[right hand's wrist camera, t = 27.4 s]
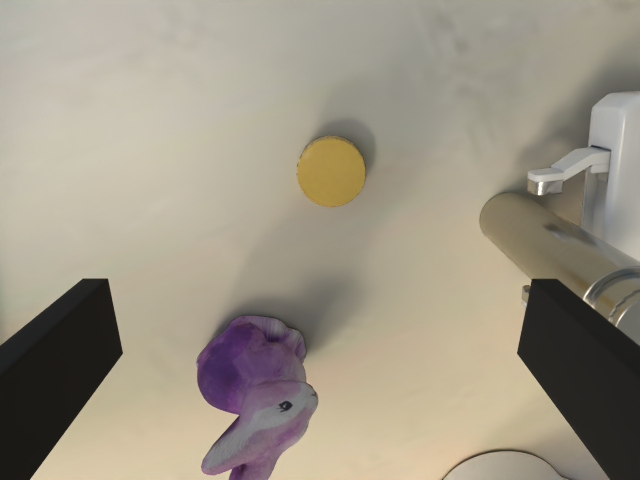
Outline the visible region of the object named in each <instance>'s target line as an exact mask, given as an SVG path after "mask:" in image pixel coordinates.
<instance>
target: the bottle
mask: <svg viewBox="0 0 640 480" xmlns="http://www.w3.org/2000/svg"><path fill="white" fill-rule="evenodd" d="M480 227H481V230H482V232H483V233H484V235H485V236H486V237H487V238H488V239H489V240H490V241H491V242H492V243H493V244H495V245H496V246H497V247H498V248H499V249H500V250H501V251H502V252H503V253H504V254H505V255H506V256H507V257H508V258H509V259H510V260H511V261H512V262H513V263H514V264H515V265H516V266H518V267H519V268H520V269H521V270H522V271H523V272H524V273H525V274H526V275H527V276H528V277H529V278H530V279H531V280H532V279H558V280H559V281H560V282H562V283H563V284H564V285H565V286H567V287H568V288H569V289H570V290H572V291H573V292H574V293H575V294H576V295H578V296H579V297H580V298H581V299H583V300H584V301H585V302H586V303H588V304H589V305H590V306H591V307H592V308H594V309H595V310H596V311H597V312H599V313H600V314H601V315H602V316H604V317H605V318H606V319H607V320H608V321H610V322H611V323H612V324H613V325H615V326H616V327H617V328H618V329H620V330H621V331H622V332H623V333H624V334H626V335H627V336H628V337H629V338H631V339H632V340H633V341H634V342H636V343H637V344H638V345H639V346H640V261H638V260H636V259H634V258H633V257H631V256H629V255H627V254H625V253H624V252H622V251H620V250H618V249H617V248H615V247H613V246H611V245H610V244H608V243H606V242H604V241H603V240H601V239H599V238H597V237H595V236H594V235H592V234H590V233H588V232H587V231H585V230H583V229H581V228H580V227H578V226H576V225H574V224H573V223H571V222H569V221H567V220H565V219H564V218H562V217H560V216H558V215H557V214H555V213H553V212H551V211H550V210H548V209H546V208H544V207H542V206H541V205H539V204H537V203H535V202H534V201H532V200H530V199H528V198H527V197H525V196H523V195H521V194H519V193H514V192H507V193H502V194H499V195H497V196H495V197H493V198H492V199H491V200H489V201H488V202H487V203H486V205H485V206H484V208H483V209H482V212H481V215H480Z"/></svg>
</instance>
